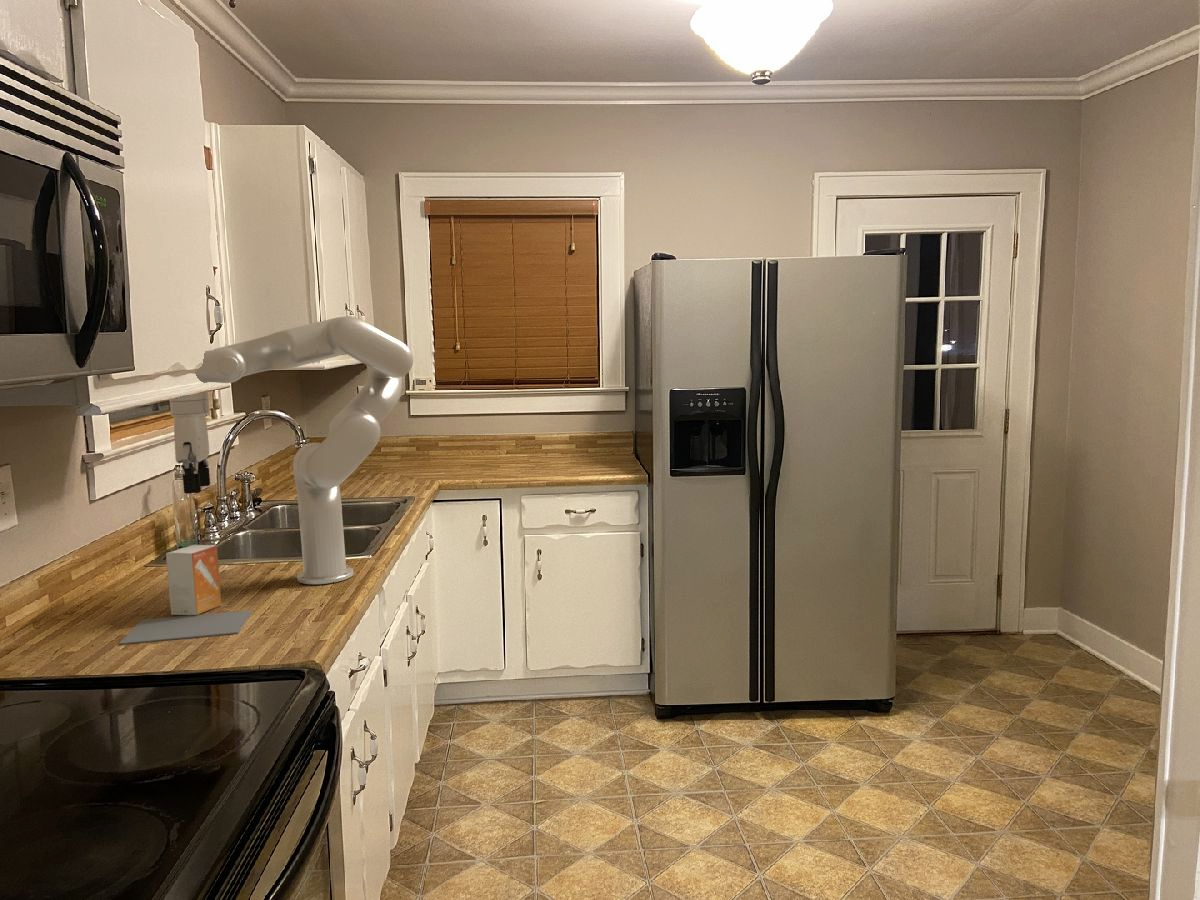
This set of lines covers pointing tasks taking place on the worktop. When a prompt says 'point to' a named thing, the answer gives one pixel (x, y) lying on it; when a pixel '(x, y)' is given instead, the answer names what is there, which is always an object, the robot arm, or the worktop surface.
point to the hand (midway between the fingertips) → (197, 489)
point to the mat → (187, 627)
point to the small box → (193, 579)
